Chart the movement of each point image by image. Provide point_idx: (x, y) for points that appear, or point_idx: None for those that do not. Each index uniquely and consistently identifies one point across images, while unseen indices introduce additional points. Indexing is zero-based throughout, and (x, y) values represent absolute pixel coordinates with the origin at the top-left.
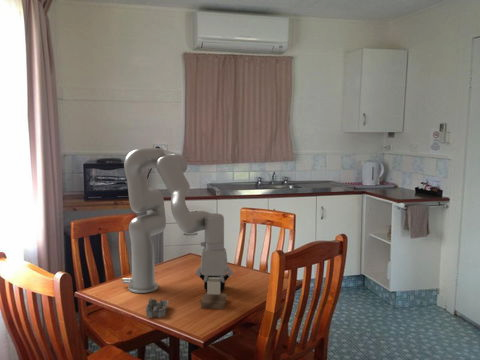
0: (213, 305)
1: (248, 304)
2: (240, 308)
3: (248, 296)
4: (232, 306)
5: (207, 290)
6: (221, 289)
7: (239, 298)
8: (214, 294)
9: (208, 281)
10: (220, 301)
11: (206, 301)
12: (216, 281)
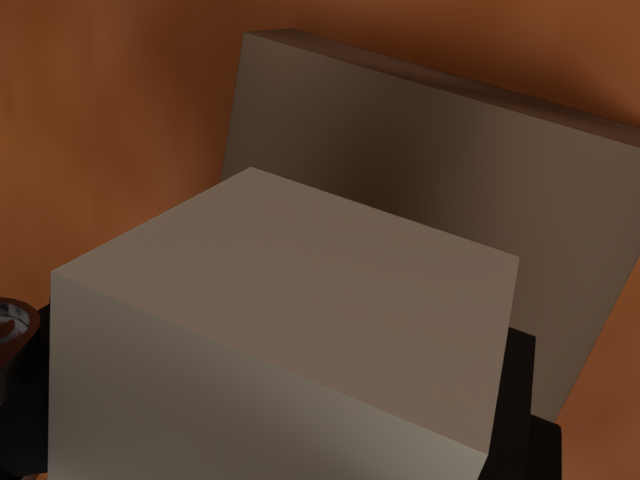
0: (439, 81)
1: (10, 129)
2: (89, 17)
3: None
4: (179, 107)
5: (507, 295)
6: None
7: None
8: None
9: (433, 453)
10: (300, 100)
11: (557, 158)
12: (158, 347)
